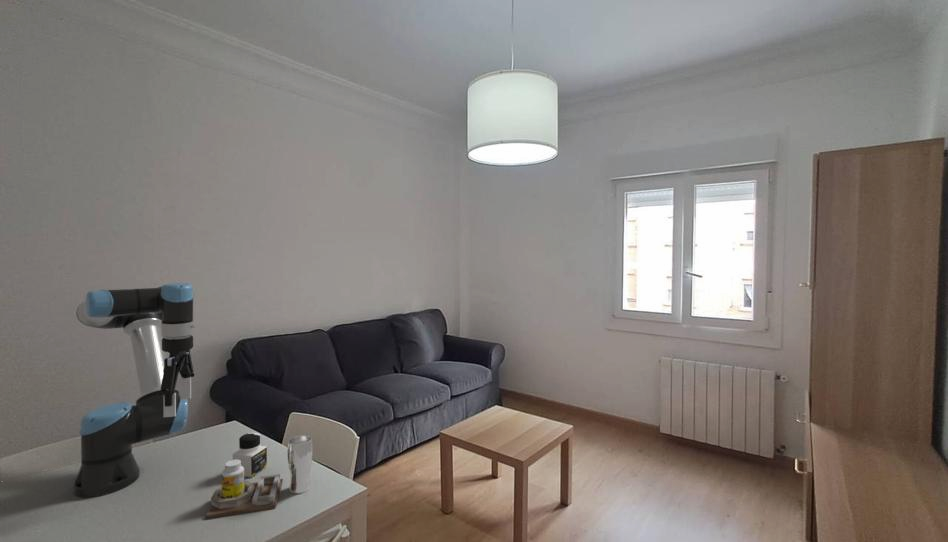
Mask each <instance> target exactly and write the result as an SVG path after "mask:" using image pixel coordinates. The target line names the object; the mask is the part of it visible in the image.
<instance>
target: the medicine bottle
mask: <svg viewBox="0 0 948 542" xmlns="http://www.w3.org/2000/svg"><path fill="white" fill-rule="evenodd" d="M238 439H239V440H238V441H239V442H238V446H239V447H238V448H239V449H238V450H236V451H235V452H233V453H232V460H240V461H241V466H243V467H244V478H251V477H252V478H254V477H255V476H256V475H258V474H259V473H261V472H262V471H263V470H265V469H266V468H267V467H268V457H267V456H268V454H267V453H268V452H267V451H268V448H267V446H266V445H261V434H260V433H258V432H247V433H245V434H243V435H241V436H240V437H239V438H238ZM265 467H266V468H265ZM264 468H265V469H264ZM261 470H262V471H261ZM257 473H258V474H257ZM254 475H255V476H254Z"/></svg>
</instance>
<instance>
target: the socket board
mask: <svg viewBox="0 0 948 542" xmlns="http://www.w3.org/2000/svg"><path fill="white" fill-rule="evenodd" d="M283 480H284V479H283V478H281V474H280V473H279V474H278V473H277V474H271V475H265V476H264V475H263V476H260V477H259V481H258V482H250V481H247V480H244V494H242V495H240V496H238V497H235V498H228V499H222V486H221V487H218V488H216V489H215V491H214V492H213V494H212V496H211V501H210V503H211V505H210V506H209V509H208V510H207V512H206V515H205V519H206V520H208V519H215V518H220V517H228V516H232V515H233V516H234V515H240V514H247V513H252V512H259V511H265V510H272V509H276V508H277V504H278V500H279V497H280V492H281V490H282V487H283V483H282V482H284V481H283Z"/></svg>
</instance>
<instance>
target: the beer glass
mask: <svg viewBox="0 0 948 542" xmlns="http://www.w3.org/2000/svg"><path fill="white" fill-rule="evenodd" d="M287 443H288V444H287V464H288V469H289V475H290V485H289V493H291V494H295V495H299V494H303V493H306V492H308V491H309V490H310V489H311V488H312V482H311V476H310V473H311V468H312V462H313V438H312V436H310V435H309V434H308V435H307V434H300V435H297V436H296V435H295V436H293V437H290V438H289V440H288V442H287Z"/></svg>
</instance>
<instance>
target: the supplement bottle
mask: <svg viewBox="0 0 948 542" xmlns="http://www.w3.org/2000/svg"><path fill="white" fill-rule="evenodd" d="M244 481H245V477H244V467H243V466H241V461H240V460H233V459H232V460H231V459H230V460H229V461H227V462H225V463H224V469H223V470H222V471H221V487H222V499H228V498H235V497H238V496H240V495H242V494H244Z"/></svg>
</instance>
